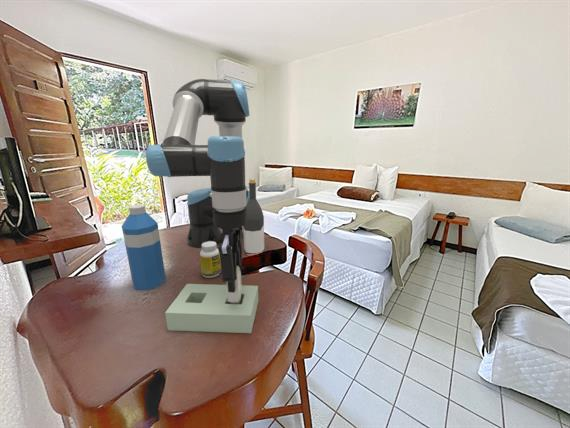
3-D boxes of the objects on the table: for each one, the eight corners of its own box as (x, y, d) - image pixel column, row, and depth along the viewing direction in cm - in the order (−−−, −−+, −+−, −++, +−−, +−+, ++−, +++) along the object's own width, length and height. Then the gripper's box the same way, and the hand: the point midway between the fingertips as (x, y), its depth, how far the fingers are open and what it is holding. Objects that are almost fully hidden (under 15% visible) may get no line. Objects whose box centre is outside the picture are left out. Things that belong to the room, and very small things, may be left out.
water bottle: (172, 278, 80) (162, 204, 73) (146, 293, 72) (131, 212, 64) (152, 271, 84) (141, 201, 76) (125, 285, 75) (110, 208, 68)
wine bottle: (245, 248, 102) (242, 177, 94) (264, 248, 103) (263, 177, 94) (243, 257, 95) (239, 180, 86) (263, 257, 95) (262, 180, 86)
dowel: (231, 305, 64) (228, 265, 61) (242, 306, 64) (240, 265, 61) (228, 313, 61) (225, 271, 58) (240, 313, 61) (237, 271, 58)
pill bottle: (215, 279, 79) (213, 248, 76) (198, 277, 80) (195, 246, 77) (224, 270, 85) (221, 241, 82) (207, 268, 86) (205, 239, 83)
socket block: (188, 299, 69) (186, 283, 68) (258, 301, 69) (258, 285, 67) (167, 330, 58) (165, 312, 57) (251, 333, 57) (250, 315, 56)
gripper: (222, 199, 62) (228, 279, 69) (200, 217, 48) (210, 317, 54) (251, 200, 62) (254, 280, 69) (238, 218, 47) (243, 319, 54)
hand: (234, 296), depth 62 cm, fingers closed on dowel, 2 cm apart
